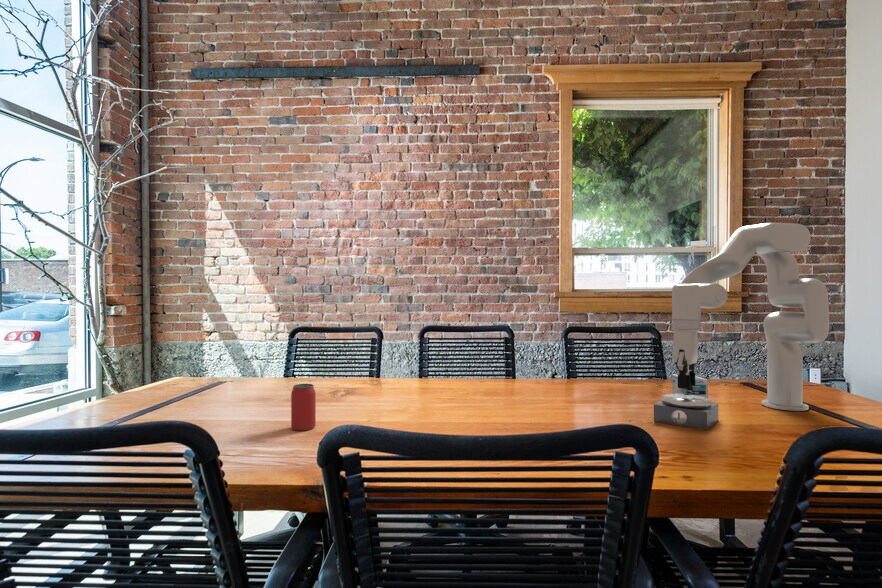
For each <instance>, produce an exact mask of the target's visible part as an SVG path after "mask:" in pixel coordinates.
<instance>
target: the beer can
mask: <svg viewBox="0 0 882 588" xmlns="http://www.w3.org/2000/svg"><path fill="white" fill-rule="evenodd" d="M314 385H315V384H312V383H299V384H294V385H293V386H292V391H291V394H290V395H291V397H290V402H291V403H290V406H291V407H290V410H291V411H290V416H291V417H290V422H291V423H290V425H291V426H290V427H291V429H292V430H294V431H295V432H296V431H299V432H304V431H309V430H313V429H314V428H315V427H316V423H317V422H316V419H317V418H316V414H317V413H316V407H317V405H316V390H315V388H314Z"/></svg>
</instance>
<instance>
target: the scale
mask: <svg viewBox="0 0 882 588" xmlns="http://www.w3.org/2000/svg"><path fill="white" fill-rule="evenodd" d="M718 421H719V403H718V402H712V401H711V406H710V407H705V408H689V407H680V406H674V405H670V404H667V403H664V402H663V401H662V399H661V400H659V401H657V402H656V403H654V404H653V422H655V423H656V422H657V423H661V424H667V425H673V426H678V427H679V426H680V427H685V428H690V429H697V430H703V431H709V430H710V428H711V427H713V425H715V424H716V423H717V422H718Z"/></svg>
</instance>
